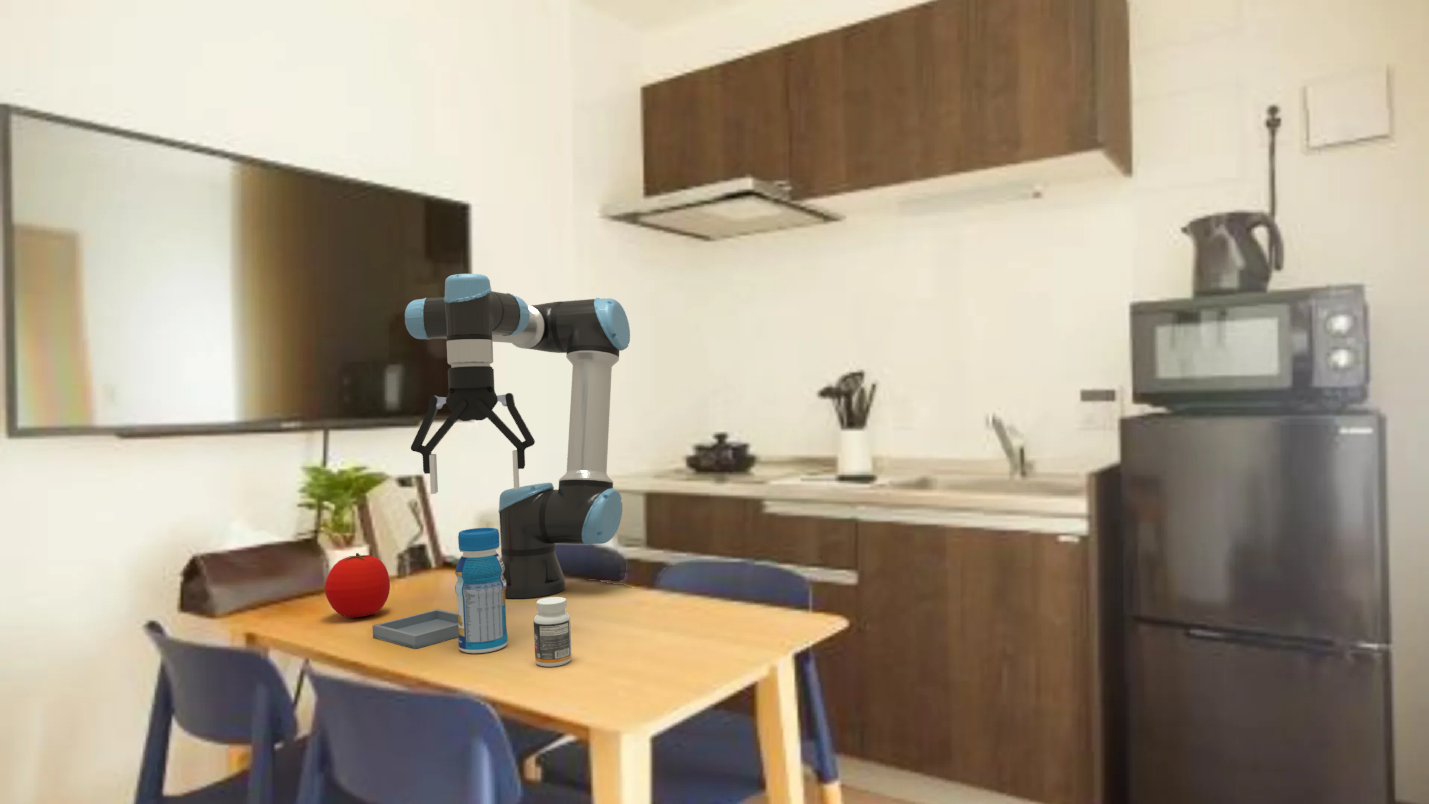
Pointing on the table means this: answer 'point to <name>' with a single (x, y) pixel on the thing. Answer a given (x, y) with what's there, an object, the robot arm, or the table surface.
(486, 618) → the beverage bottle
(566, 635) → the pill bottle
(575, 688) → the table surface
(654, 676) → the table surface
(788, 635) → the table surface
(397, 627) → the tray
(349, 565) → the tomato
